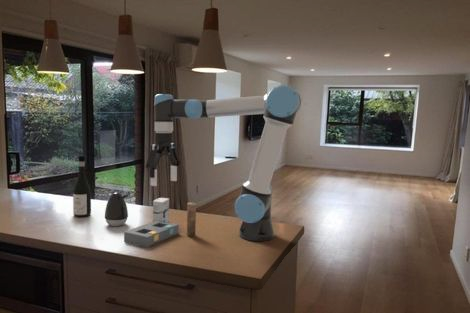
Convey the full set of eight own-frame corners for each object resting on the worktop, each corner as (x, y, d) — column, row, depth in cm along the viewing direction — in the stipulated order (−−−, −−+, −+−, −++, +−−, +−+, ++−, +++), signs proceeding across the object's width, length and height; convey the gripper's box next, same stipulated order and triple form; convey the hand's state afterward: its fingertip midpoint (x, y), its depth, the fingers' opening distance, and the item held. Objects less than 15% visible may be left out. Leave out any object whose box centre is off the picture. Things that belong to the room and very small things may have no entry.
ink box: (162, 227, 169) (162, 202, 168) (152, 226, 170) (152, 201, 169) (169, 222, 177) (169, 198, 176) (159, 221, 178) (160, 197, 177)
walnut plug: (197, 235, 160) (197, 203, 158) (192, 237, 156) (193, 204, 155) (189, 233, 161) (190, 202, 160) (185, 235, 158) (185, 203, 157)
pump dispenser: (124, 228, 165) (124, 195, 164) (101, 227, 165) (101, 194, 164) (131, 222, 176) (131, 190, 174) (109, 221, 175) (108, 189, 174)
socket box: (178, 233, 161) (178, 223, 160) (147, 247, 143) (148, 236, 143) (156, 228, 166) (156, 219, 166) (124, 241, 149) (124, 231, 148)
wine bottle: (84, 218, 179) (84, 156, 176) (70, 217, 180) (69, 155, 177) (94, 214, 187) (93, 155, 184) (79, 213, 188) (79, 154, 185)
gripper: (174, 131, 165) (174, 178, 168) (136, 132, 143) (136, 187, 145) (188, 131, 162) (188, 179, 164) (151, 133, 140) (152, 188, 142)
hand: (164, 183), depth 155 cm, fingers open, 13 cm apart
